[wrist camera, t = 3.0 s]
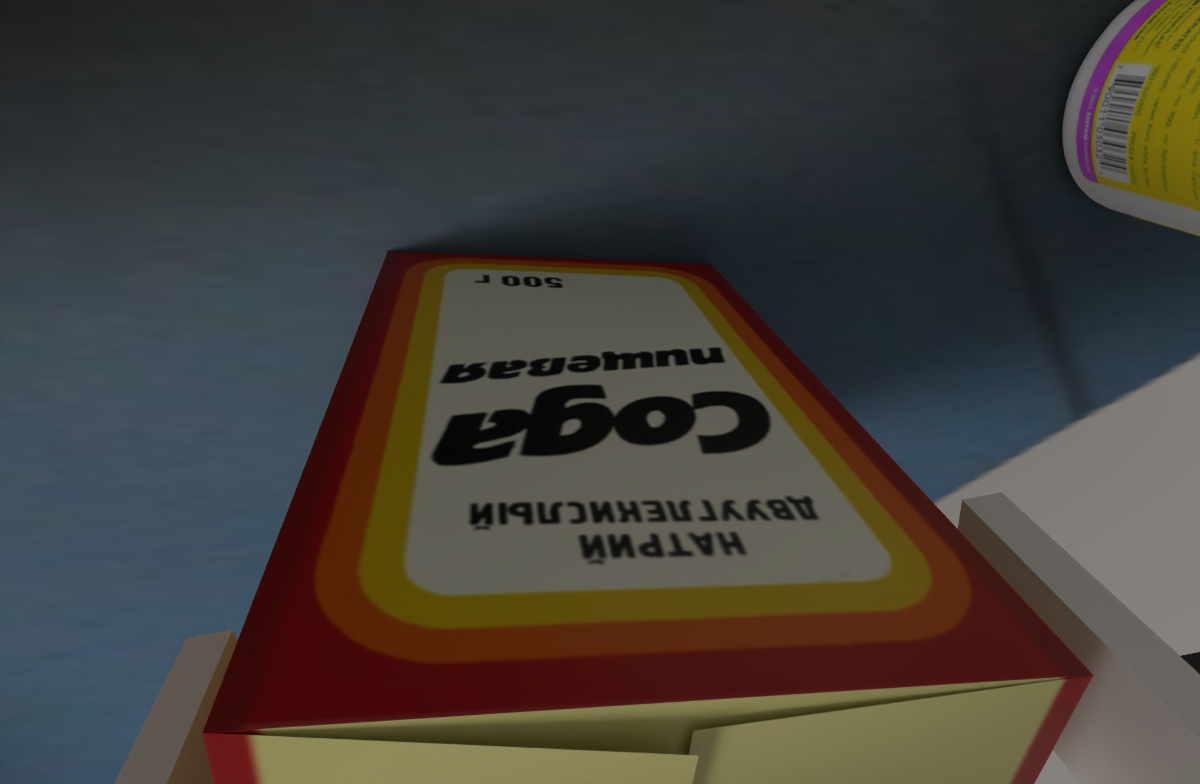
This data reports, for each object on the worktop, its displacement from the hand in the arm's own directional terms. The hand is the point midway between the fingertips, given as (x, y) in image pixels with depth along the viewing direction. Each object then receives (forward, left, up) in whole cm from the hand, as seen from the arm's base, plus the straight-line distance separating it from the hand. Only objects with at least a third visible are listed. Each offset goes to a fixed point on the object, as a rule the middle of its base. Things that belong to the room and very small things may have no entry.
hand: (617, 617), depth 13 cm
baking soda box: (0, 0, -11) cm, 11 cm away
